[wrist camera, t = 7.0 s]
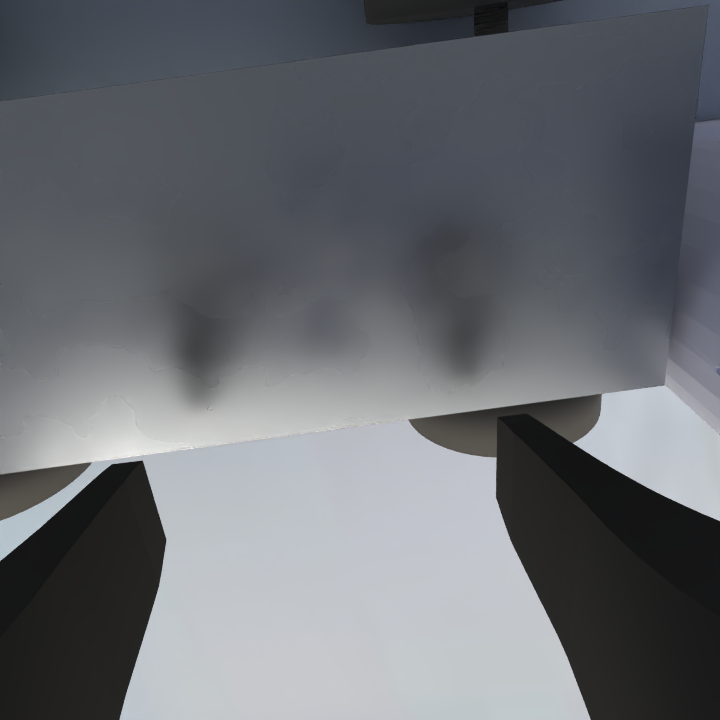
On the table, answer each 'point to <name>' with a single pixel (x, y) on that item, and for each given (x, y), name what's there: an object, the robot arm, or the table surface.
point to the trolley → (345, 242)
